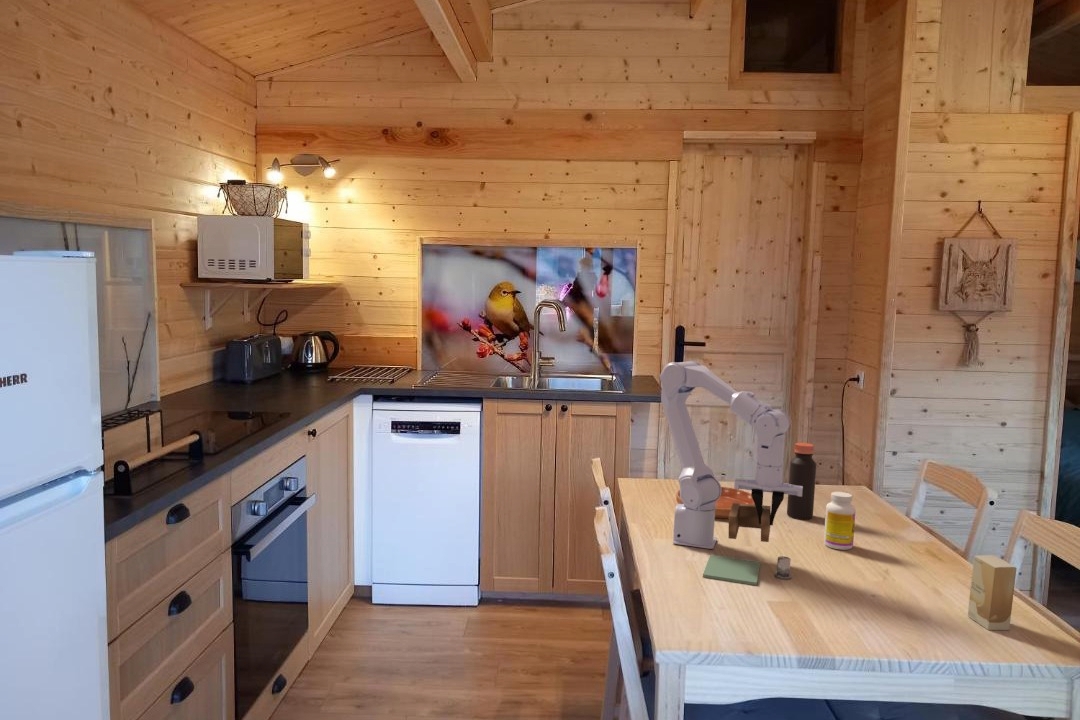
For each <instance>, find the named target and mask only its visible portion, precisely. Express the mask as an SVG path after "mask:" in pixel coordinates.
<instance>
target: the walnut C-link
mask: <svg viewBox="0 0 1080 720" xmlns="http://www.w3.org/2000/svg"><path fill="white" fill-rule="evenodd" d="M771 507H772V505H762V516H761V524H759V519H758V513H757V509H756V506H755V505H751V504H738V503H733V504H732V507H731V511H730V514H729V518H728V539H730V540H732V539H733V540H737V536H738V533H739V529H740V528H747V529H748V528H750V529H758V530H759V529H760V542H762V543H763V542H764V543H769V540H770V533H771V525H770V515H771Z"/></svg>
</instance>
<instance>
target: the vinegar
mask: <svg viewBox="0 0 1080 720" xmlns="http://www.w3.org/2000/svg"><path fill="white" fill-rule="evenodd" d="M814 451H815V445H814V444H812V443H808V442H796V443H794V454H795V456H794V457H793V458H791V460H790V462H789V475H788V484H792V485H797V486H803V490H802V497H800V496H797V495H790V494H787V505H786V506H787V508H786V514H787V516H788V517H790V518H792V519H796V520H804V521H805V520H811V519H813V517H814V508H815V507H814V505H815V492H816V491H815V489H816V477H817V475H816V474H817V463H816V461H815V460H814V459H813V456H814Z"/></svg>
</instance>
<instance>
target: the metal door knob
mask: <svg viewBox="0 0 1080 720" xmlns="http://www.w3.org/2000/svg"><path fill="white" fill-rule="evenodd" d="M791 560H792V559H791V558H790V557H788V556H783V555H781V556H777V564H776V572H774V577H775V578H777V579H780V580H785V581H787V580H791V579H792V574H791Z"/></svg>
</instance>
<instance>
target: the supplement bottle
mask: <svg viewBox="0 0 1080 720" xmlns="http://www.w3.org/2000/svg"><path fill="white" fill-rule="evenodd" d="M830 498H831V499H830V500H831V501H830V502H828V503H827V504H826V506H825V518H824V532H823V543H824V545H825V546H827V547H828V548H831V549H834V550H840V551H841V550H842V551H848V550H851V549H853V546H854V536H855V523H856V522H855V521H856V507H854V506H853V505H852V501H853V495H852V494H851V493H848V492H844V491H833V492H831V494H830Z"/></svg>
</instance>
